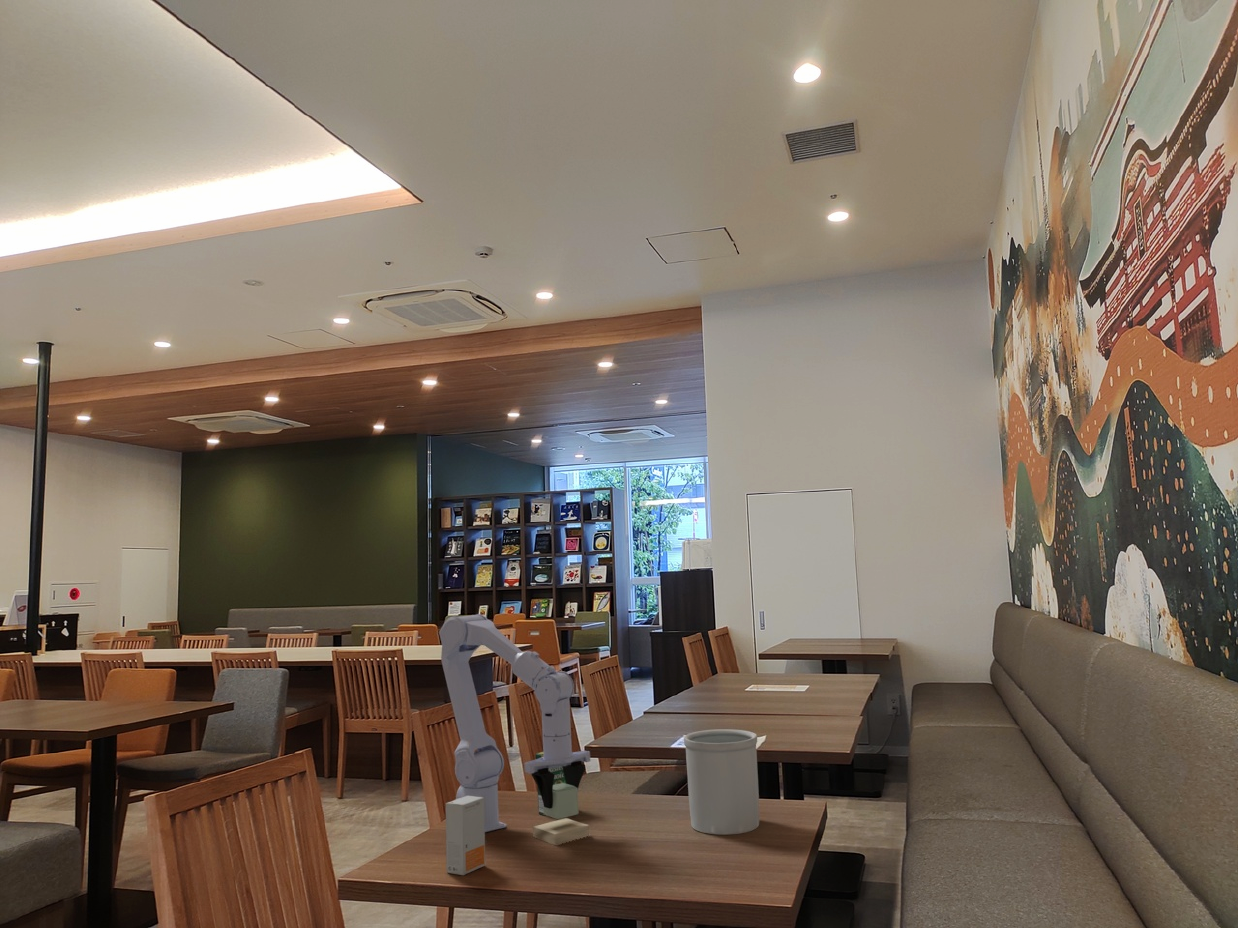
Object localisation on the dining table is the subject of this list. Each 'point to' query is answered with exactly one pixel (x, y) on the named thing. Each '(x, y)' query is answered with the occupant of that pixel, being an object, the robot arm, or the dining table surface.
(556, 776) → the coffee box
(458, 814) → the skincare box
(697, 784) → the utensil holder
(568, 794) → the sage box
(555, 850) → the dining table surface
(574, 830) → the maple block
